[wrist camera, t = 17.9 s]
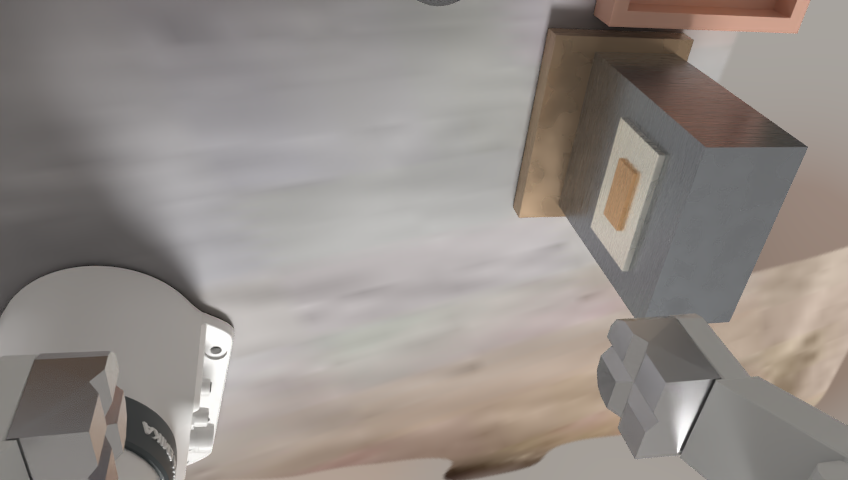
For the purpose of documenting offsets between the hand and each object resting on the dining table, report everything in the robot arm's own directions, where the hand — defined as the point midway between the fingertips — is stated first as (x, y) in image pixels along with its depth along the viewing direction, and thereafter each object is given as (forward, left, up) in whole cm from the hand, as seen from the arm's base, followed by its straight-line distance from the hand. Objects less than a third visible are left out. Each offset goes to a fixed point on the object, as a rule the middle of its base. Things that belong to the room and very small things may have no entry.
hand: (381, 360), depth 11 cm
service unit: (-12, -22, -35) cm, 43 cm away
